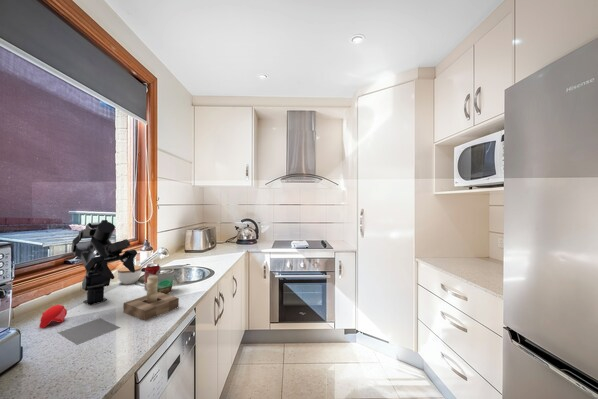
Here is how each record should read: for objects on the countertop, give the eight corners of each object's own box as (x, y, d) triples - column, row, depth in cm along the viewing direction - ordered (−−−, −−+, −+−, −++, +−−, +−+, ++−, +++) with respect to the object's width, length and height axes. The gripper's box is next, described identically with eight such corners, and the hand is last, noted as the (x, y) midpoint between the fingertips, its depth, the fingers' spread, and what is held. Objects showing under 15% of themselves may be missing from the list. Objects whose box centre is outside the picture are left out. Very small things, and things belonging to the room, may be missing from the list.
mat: (57, 333, 82) (57, 332, 82) (99, 318, 93) (100, 317, 93) (77, 346, 76) (77, 344, 76) (120, 328, 86) (120, 327, 86)
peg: (145, 312, 99) (146, 278, 99) (148, 308, 102) (149, 275, 102) (155, 311, 100) (156, 278, 100) (158, 308, 103) (158, 275, 103)
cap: (56, 308, 93) (39, 306, 88) (71, 304, 93) (55, 301, 88) (49, 332, 89) (31, 330, 84) (65, 327, 89) (47, 325, 84)
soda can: (152, 291, 121) (153, 266, 121) (141, 290, 123) (141, 265, 123) (163, 286, 128) (163, 263, 128) (151, 285, 129) (152, 262, 129)
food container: (154, 298, 112) (155, 276, 113) (147, 295, 116) (147, 274, 116) (179, 290, 123) (180, 270, 123) (172, 288, 126) (173, 268, 126)
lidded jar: (146, 280, 138) (146, 263, 138) (128, 286, 127) (129, 268, 127) (130, 278, 140) (130, 261, 140) (111, 284, 130) (112, 266, 130)
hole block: (123, 312, 98) (123, 302, 98) (157, 300, 110) (158, 291, 110) (144, 321, 91) (144, 310, 91) (178, 307, 104) (178, 298, 104)
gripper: (91, 236, 95) (113, 268, 92) (134, 231, 113) (154, 257, 110) (75, 256, 96) (96, 287, 94) (120, 247, 115) (139, 273, 112)
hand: (124, 275), depth 102 cm, fingers open, 9 cm apart
